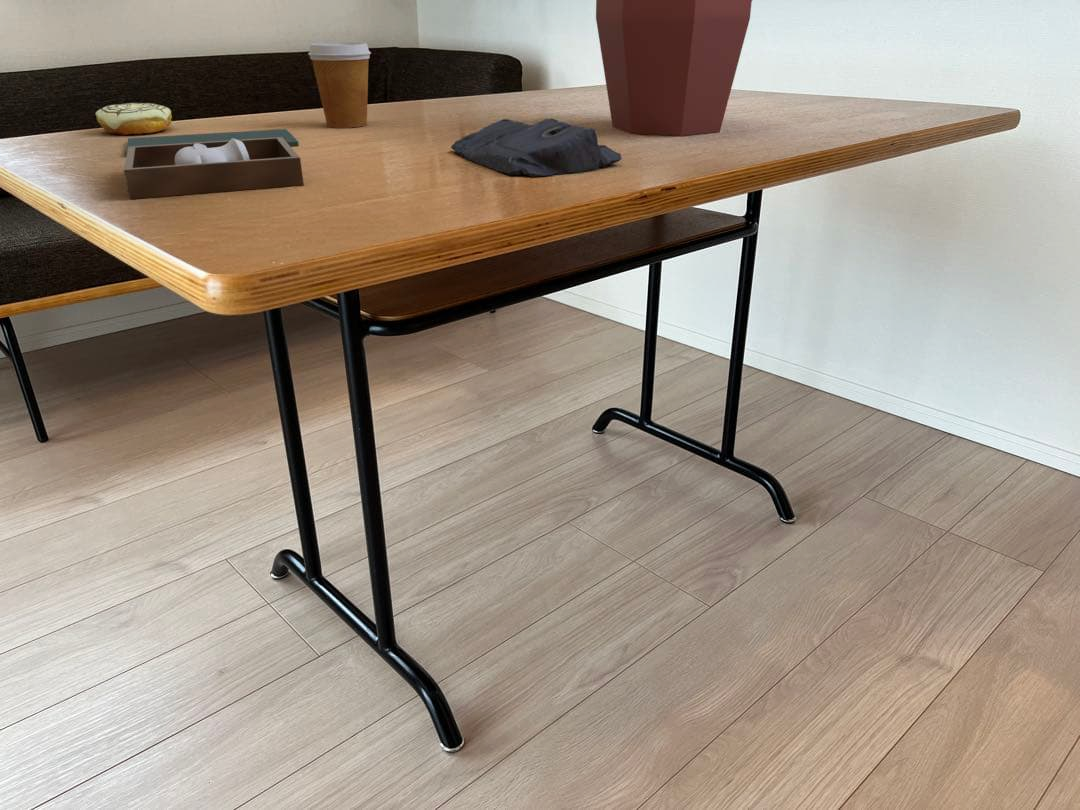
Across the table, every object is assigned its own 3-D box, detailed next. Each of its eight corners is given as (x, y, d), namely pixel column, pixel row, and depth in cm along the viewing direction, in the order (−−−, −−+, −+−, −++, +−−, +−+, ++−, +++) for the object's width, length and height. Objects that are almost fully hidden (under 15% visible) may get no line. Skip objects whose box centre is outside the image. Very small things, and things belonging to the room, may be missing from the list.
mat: (126, 157, 108) (124, 152, 108) (128, 142, 119) (127, 138, 119) (298, 145, 116) (298, 141, 115) (286, 132, 126) (286, 128, 126)
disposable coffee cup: (361, 119, 139) (353, 41, 134) (387, 125, 133) (380, 44, 127) (307, 124, 134) (297, 43, 129) (331, 131, 127) (322, 46, 122)
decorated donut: (109, 138, 122) (103, 111, 120) (94, 130, 130) (88, 104, 128) (182, 131, 128) (177, 105, 126) (163, 123, 135) (158, 99, 134)
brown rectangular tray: (130, 199, 86) (123, 169, 85) (133, 172, 99) (128, 146, 97) (303, 185, 92) (300, 157, 91) (285, 161, 105) (282, 136, 103)
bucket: (775, 128, 128) (796, -58, 116) (686, 145, 114) (700, -63, 103) (651, 114, 144) (660, -51, 132) (560, 127, 130) (561, -55, 119)
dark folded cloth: (543, 141, 118) (542, 106, 116) (630, 167, 100) (632, 126, 98) (442, 150, 111) (440, 113, 109) (518, 179, 94) (518, 136, 92)
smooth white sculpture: (181, 195, 93) (177, 173, 96) (255, 187, 96) (248, 166, 99) (173, 159, 90) (169, 138, 93) (250, 152, 93) (243, 131, 96)
